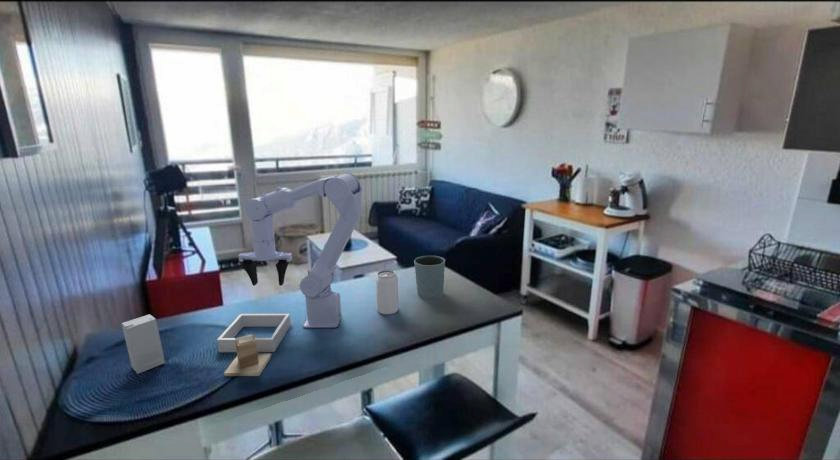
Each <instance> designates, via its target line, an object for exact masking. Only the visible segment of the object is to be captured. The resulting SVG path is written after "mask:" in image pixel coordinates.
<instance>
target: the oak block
mask: <svg viewBox="0 0 840 460" xmlns="http://www.w3.org/2000/svg"><path fill="white" fill-rule="evenodd" d="M234 338H235V342H236V350H237V352H236V357H238V362H239V365H240V368H241V369H243V368H246V367H249V366H253V365H256V364H259V361H258V354H259V352H257V345H256V340H255V338H256V337H255V335H254V334H253V333H250V334H246V335H243V336H239V337H234Z"/></svg>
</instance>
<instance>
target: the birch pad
mask: <svg viewBox="0 0 840 460" xmlns="http://www.w3.org/2000/svg"><path fill="white" fill-rule="evenodd" d="M271 357H272V353H258V361H259V364H256V365H253V366H249V367H246V368H243V369H241V368H240V365H239V362H238V357H237V356H236V357H235V358H234V359H233V360H232V362H230V364H229V366H227V368H226V370H225V371H224V372H223V375H224V377H259V376H260V375H261V374H262V373H263V371H264V369H265V367H266V366H267V365H268V362H269V361H270V359H271Z"/></svg>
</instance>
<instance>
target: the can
mask: <svg viewBox="0 0 840 460" xmlns="http://www.w3.org/2000/svg"><path fill="white" fill-rule="evenodd" d="M375 279H376V280H375V282H376V283H375V287H376V288H375V289H376V309H377V312H378V313H379V314H380V315H386V316H387V315H388V316H389V315H394V314H396V313H397V312H398V310H399V278H398V276H397V272H396V271H394V270H390V269H389V270H388V269H387V270H381V271H379V272H377V277H376V278H375Z"/></svg>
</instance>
